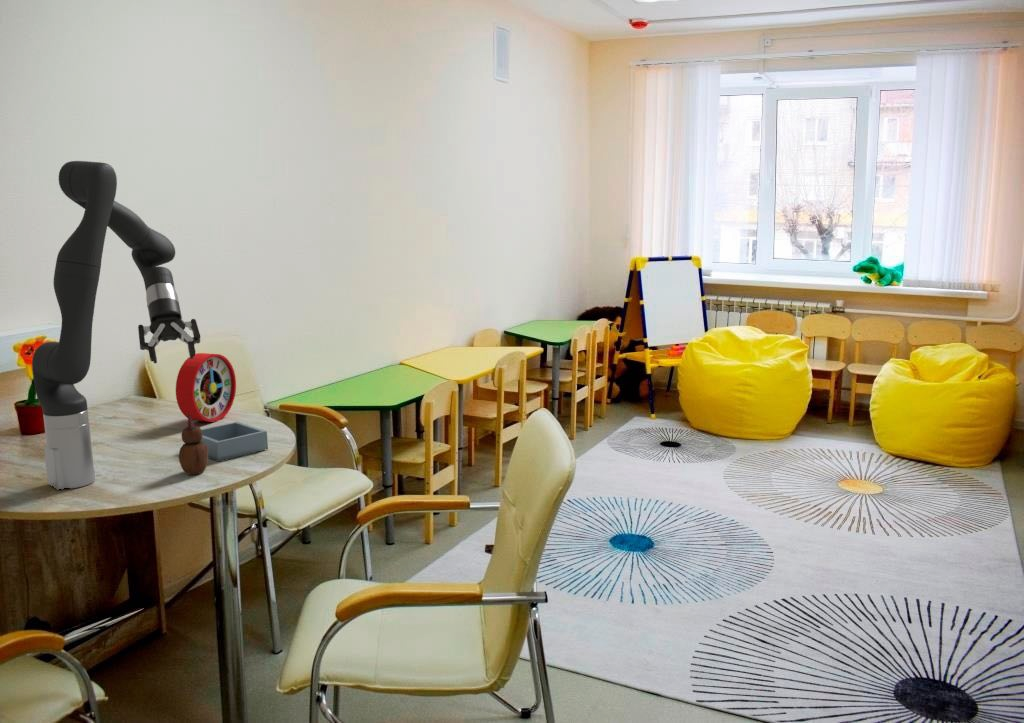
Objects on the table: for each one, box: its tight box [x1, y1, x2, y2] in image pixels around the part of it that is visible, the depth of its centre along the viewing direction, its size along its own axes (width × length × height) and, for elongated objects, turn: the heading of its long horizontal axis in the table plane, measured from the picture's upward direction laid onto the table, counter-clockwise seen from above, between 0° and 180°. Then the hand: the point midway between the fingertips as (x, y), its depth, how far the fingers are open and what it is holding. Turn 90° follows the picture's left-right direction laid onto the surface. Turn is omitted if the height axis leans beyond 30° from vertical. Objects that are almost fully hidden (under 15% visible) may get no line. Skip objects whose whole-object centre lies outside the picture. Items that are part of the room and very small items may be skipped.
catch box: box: [200, 421, 269, 462], centre depth 232 cm, size 14×15×5 cm
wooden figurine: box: [178, 414, 209, 475], centre depth 213 cm, size 7×6×15 cm
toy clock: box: [175, 352, 237, 423], centre depth 262 cm, size 20×6×20 cm, turn 161°
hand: (173, 359), depth 220 cm, fingers open, 8 cm apart
